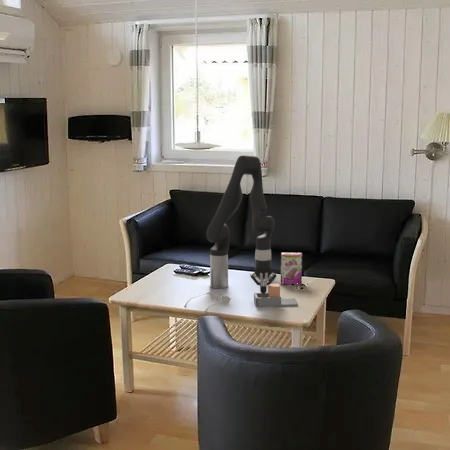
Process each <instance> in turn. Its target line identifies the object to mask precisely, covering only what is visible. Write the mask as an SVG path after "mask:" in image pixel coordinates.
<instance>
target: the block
mask: <svg viewBox="0 0 450 450" xmlns="http://www.w3.org/2000/svg"><path fill="white" fill-rule="evenodd" d="M267 292H268V297H281V286H280V284H279V283H271V284H270V285H267Z"/></svg>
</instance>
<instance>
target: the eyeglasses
mask: <svg viewBox="0 0 450 450" xmlns="http://www.w3.org/2000/svg"><path fill="white" fill-rule="evenodd" d="M204 295H205V293H204V294H201V295H196V296H194V297H191V298H190V299H189V300H187V302H186V303H185V305H184V306H183V308H186V307H187V305H188V303H189V302H190V301H191V300H192V299H195V298H197V297H201V296H204ZM206 295H209V297H210V300H213V301H216V302H217V301H218V300H219V298H220V300H221V301H220V302H217V303H214V304H211V305H210V306H209V307H207V308H206V309H205V310H204V311H203V312H202V314H206V313H207V311H208V310H209V308H210V307H212V306H214V305H217V304H220V303H224V304H227V305H228V304H230V303H231V300H232V298H231V297H230V296H227V295H219V294H218V293H216V292H212V291H211V292H207V293H206Z"/></svg>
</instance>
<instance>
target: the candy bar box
mask: <svg viewBox="0 0 450 450" xmlns="http://www.w3.org/2000/svg"><path fill="white" fill-rule="evenodd" d="M302 273H303V253H302V252H281V253H280V285H290V284H297V283H298V284H301V285H302V283H303V281H302V278H303V277H302V275H303V274H302Z"/></svg>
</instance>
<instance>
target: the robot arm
mask: <svg viewBox="0 0 450 450" xmlns="http://www.w3.org/2000/svg"><path fill="white" fill-rule="evenodd" d="M233 167H234V168H233V170H232V174H231V176H230V180H229V182H228V184H227V187H226V189H225V191H224V194H223V195H222V198H221V200H220V203H219V205H218V208H217V210H216V212H215V214H214V216H213V218H212V220H211V222H210V223H209V225H208V227H207V229H206V232H205V233H206V239H207V240H208V242H209V243H214V245H213V246H212V247H210V250H209V260H210V261H209V264H210V265H209V266H210V267H209V270H210V271H209V276H210V279H209V281H210V282H209V283H210V288H212V289H213V288H214V289H224V288H228V287H229V256H228V255H229V250H230V238H231V234H230V228H229V226H228V224H227V223H226V222H228V220H229V219H230V218H231V217H233V215H234V214H235V212H237V210H238V209H239V207H240V204H241V203H242V200H243V192H242V186H241V182H242V179H243V177H244V175H249V176H251V177H252V181H253V182H252V187H251V190H250V192H249V202H250V207H251V211H252V213H251V215H252V217H251V218H252V219H251V227H252V230H253V231H255V232H256V233H259V232H260V233H261V232H264V233H263V234H261V235H258V236H257V237H256V238H255V250H256V252H255V251H254V253H255V254H254V259H255V261H254V262H255V263H254V267H255V268H254V272H252V273H251V274H249V275H250V278H251V279H252V280H253V282H254V283H255V284H256V285H257V286H259V291H260V293H262V294H265V292H267V287H268V285H270V284H273V282H274V281H275V279H276V278H277V273H275V272H273V270H272V249H271V248H272V247H271V246H272V245H271V243H272V236H273V233H274V230H275V225H276V223H275V219H274V217H273V216H271V215H264V216H262V214H264V213H266V212H267V210H268V207H267V203H266V202H267V201H266V199H265V198H266V197H265V195H264V189H263V188H264V187H263V174H262V173H263V172H262V165H261V160H260V158H259V157H258V156H255V155H249V154H241V155H239V156H238V158H237V159H236V161H235V164H234V166H233ZM260 215H261V216H260ZM255 274H256V275H257V276H256V275H255ZM270 276H271V277H270ZM258 279H259V281H258Z"/></svg>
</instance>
